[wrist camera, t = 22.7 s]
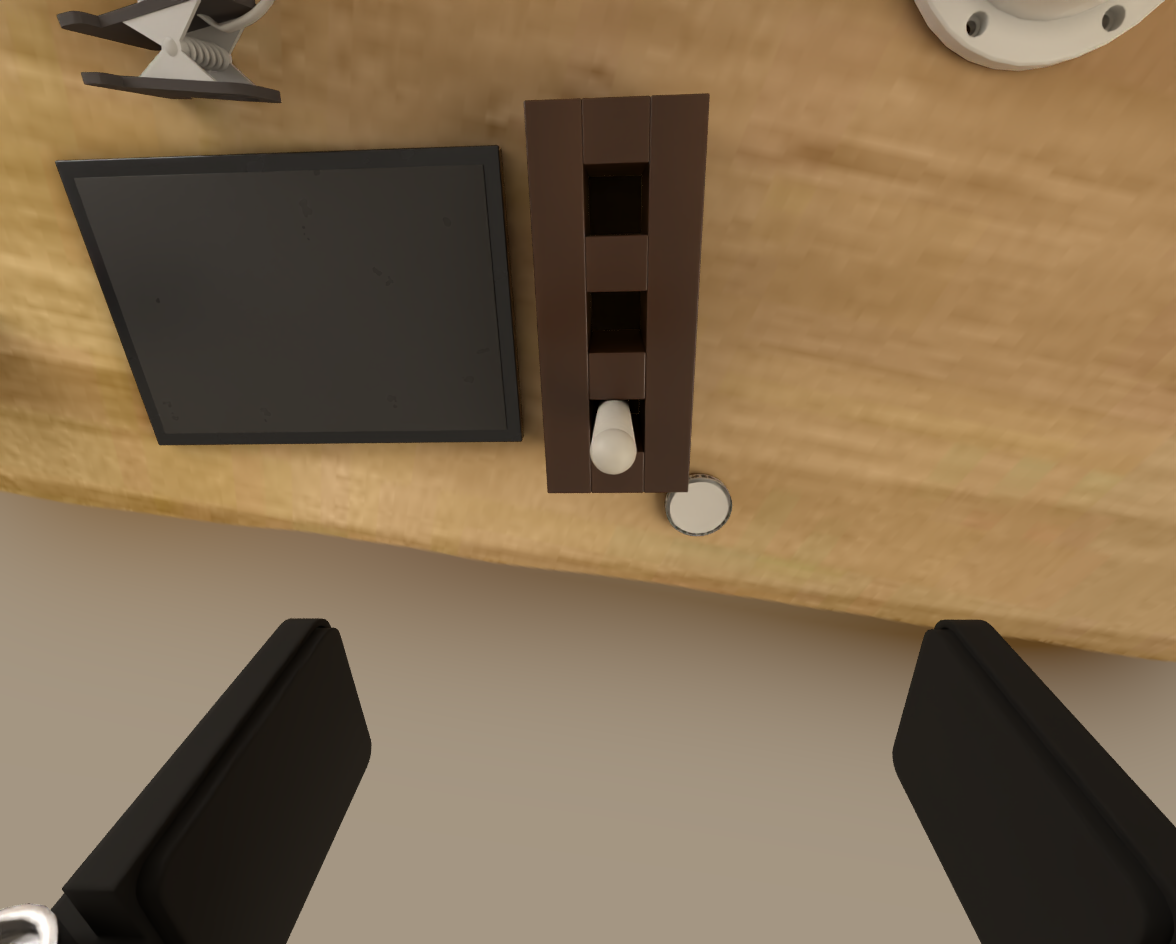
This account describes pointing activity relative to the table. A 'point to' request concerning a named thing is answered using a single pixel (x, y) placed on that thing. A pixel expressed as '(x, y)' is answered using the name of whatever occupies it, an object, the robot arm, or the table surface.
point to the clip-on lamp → (179, 47)
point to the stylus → (613, 437)
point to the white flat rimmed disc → (699, 506)
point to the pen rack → (617, 281)
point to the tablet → (309, 293)
